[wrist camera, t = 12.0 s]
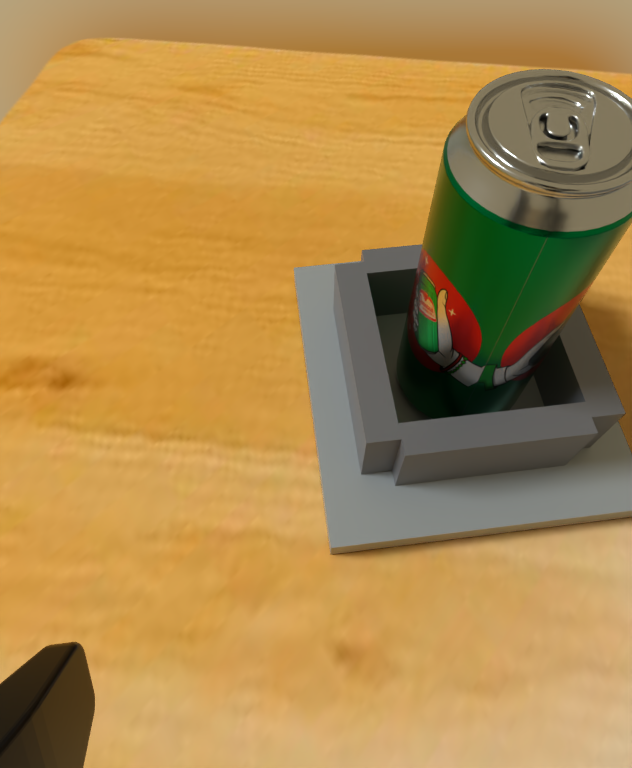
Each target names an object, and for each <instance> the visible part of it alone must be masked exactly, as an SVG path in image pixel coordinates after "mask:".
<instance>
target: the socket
mask: <svg viewBox="0 0 632 768" xmlns="http://www.w3.org/2000/svg"><path fill="white" fill-rule="evenodd" d="M421 249H422V245H412V246H401V247H391V248H381V249H371V250H362V256H361V261H358V262H348V263H338V264H328V265H318V266H308V267H298V268H294V276H295V287H296V294H297V302H298V310H299V317H300V325H301V332H302V340H303V348H304V355H305V363H306V371H307V378H308V386H309V394H310V401H311V409H312V417H313V424H314V432H315V439H316V447H317V455H318V462H319V470H320V478H321V485H322V493H323V501H324V508H325V516H326V523H327V531H328V539H329V546H330V554H338V553H346V552H354V551H362V550H370V549H378V548H386V547H394V546H402V545H410V544H418V543H426V542H434V541H442V540H450V539H458V538H466V537H474V536H482V535H490V534H498V533H506V532H514V531H522V530H530V529H538V528H546V527H554V526H562V525H570V524H578V523H586V522H594V521H602V520H610V519H618V518H626V517H632V453H631V451H630V448H629V446H628V443H627V441H626V438H625V436H624V434H623V431H622V429H621V426H620V424H619V422H618V420H619V419H620V418H621V417H622V416H623V415H625V414H626V413H625V411H624V408H623V406H622V403H621V401H620V399H619V396H618V394H617V392H616V389H615V387H614V385H613V382H612V380H611V378H610V375H609V373H608V371H607V368H606V366H605V363H604V361H603V359H602V356H601V354H600V352H599V349H598V347H597V345H596V342H595V340H594V338H593V335H592V333H591V331H590V328H589V326H588V323H587V321H586V319H585V316H584V314H583V312H582V309H581V307H580V305H578V307H577V308H576V310H575V311H574V313H573V314H572V316H571V317H570V319H569V320H568V322H567V324H566V325H565V327H564V328H563V330H562V331H561V333H560V334H559V336H558V337H557V339H556V341H555V342H554V344H553V345H552V347H551V348H550V350H549V351H548V353H547V355H546V356H545V358H544V359H543V361H542V362H541V364H540V365H539V367H538V368H537V370H536V372H535V373H534V375H533V376H532V378H531V379H530V381H529V382H528V384H527V386H526V387H525V389H524V390H523V392H522V393H521V395H520V396H519V398H518V399H517V401H516V403H515V404H514V405H513V406H512V408H511V409H510V410H509V411H501V412H492V413H483V414H474V415H465V416H457V417H448V418H439V419H432V418H430V417H428V416H426V415H425V414H424V413H422V412H421V411H419V410H418V409H417V408H416V407H415V406H414V405H413V404H412V403H411V402H410V401H409V399H408V398H407V397H406V396H405V394H404V392H403V390H402V388H401V386H400V383H399V381H398V377H397V370H396V366H397V357H398V353H399V348H400V344H401V339H402V335H403V330H404V326H405V321H406V317H407V312H408V307H409V303H410V298H411V294H412V289H413V285H414V280H415V276H416V271H417V267H418V262H419V258H420V253H421Z"/></svg>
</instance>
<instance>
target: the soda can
mask: <svg viewBox="0 0 632 768" xmlns="http://www.w3.org/2000/svg"><path fill="white" fill-rule="evenodd" d="M631 223H632V99H631V98H630V97H629V96H627V95H626V94H624V93H623V92H622V91H620V90H618V89H617V88H615V87H613V86H611V85H609V84H607V83H605V82H603V81H600V80H598V79H595V78H592V77H589V76H586V75H583V74H578V73H574V72H569V71H562V70H549V69H539V70H526V71H520V72H515V73H512V74H508V75H505V76H503V77H500V78H498V79H496V80H494V81H492V82H491V83H489V84H487V85H486V86H485V87H484V88H482V89H481V90H480V91H479V92H478V93H477V95H476V96H475V97H474V99H473V100H472V102H471V104H470V106H469V108H468V111H467V115H465V116H464V117H463V118H462V119H461V120H460V121H459V122H457V123H456V125H455V126H454V127H453V129H452V130H451V131H450V133H449V135H448V137H447V139H446V141H445V145H444V149H443V154H442V158H441V163H440V167H439V172H438V177H437V181H436V186H435V190H434V195H433V199H432V204H431V208H430V213H429V217H428V222H427V226H426V231H425V235H424V240H423V244H422V249H421V253H420V258H419V262H418V267H417V271H416V276H415V280H414V285H413V289H412V294H411V298H410V303H409V307H408V312H407V317H406V321H405V326H404V330H403V335H402V339H401V344H400V348H399V353H398V357H397V366H396V370H397V377H398V381H399V383H400V386H401V388H402V390H403V392H404V394H405V396H406V397H407V398H408V399H409V401H410V402H411V403H412V404H413V405H414V406H415V407H416V408H417V409H418V410H419V411H421V412H422V413H424V414H425V415H426V416H428V417H430V418H432V419H439V418H448V417H457V416H465V415H474V414H483V413H492V412H501V411H509V410H510V409H511V408H512V406H513V405H514V404H515V403H516V401H517V399H518V398H519V396H520V395H521V393H522V392H523V390H524V389H525V387H526V386H527V384H528V382H529V381H530V379H531V378H532V376H533V375H534V373H535V372H536V370H537V368H538V367H539V365H540V364H541V362H542V361H543V359H544V358H545V356H546V355H547V353H548V351H549V350H550V348H551V347H552V345H553V344H554V342H555V341H556V339H557V337H558V336H559V334H560V333H561V331H562V330H563V328H564V327H565V325H566V324H567V322H568V320H569V319H570V317H571V316H572V314H573V313H574V311H575V310H576V308H577V307H578V305H579V303H580V302H581V300H582V299H583V297H584V296H585V294H586V293H587V291H588V289H589V288H590V286H591V285H592V283H593V282H594V280H595V279H596V277H597V276H598V274H599V272H600V271H601V269H602V268H603V266H604V265H605V263H606V262H607V260H608V258H609V257H610V255H611V254H612V252H613V251H614V249H615V248H616V246H617V245H618V243H619V241H620V240H621V238H622V237H623V235H624V234H625V232H626V231H627V229H628V228H629V226H630V224H631Z"/></svg>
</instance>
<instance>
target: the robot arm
mask: <svg viewBox="0 0 632 768" xmlns="http://www.w3.org/2000/svg"><path fill="white" fill-rule="evenodd" d="M94 710H95V694H94V689H93V685H92V681H91V677H90V673H89V668H88V664H87V660H86V656H85V652H84V649H83V647H82V646H81V644H79V643H77V642H70V643H62V644H54V645H49V646H46V647H45V648H43V649H42V650H41V651H39V652H38V653H37V654H36V655H35V656H33V657H32V658H31V659H30V660H28V661H27V662H26V663H25V664H24V665H22V666H21V667H20V668H19V669H18V670H16V671H15V672H14V673H13V674H12V675H10V676H9V677H8V678H7V679H5V680H4V681H3V682H2V683H1V684H0V768H83V766H84V761H85V756H86V751H87V746H88V741H89V736H90V731H91V726H92V721H93V716H94Z"/></svg>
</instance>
